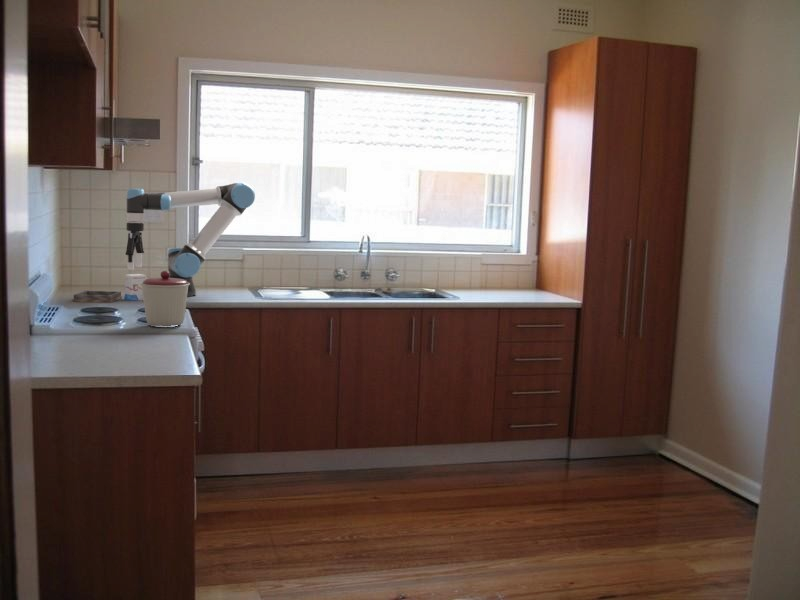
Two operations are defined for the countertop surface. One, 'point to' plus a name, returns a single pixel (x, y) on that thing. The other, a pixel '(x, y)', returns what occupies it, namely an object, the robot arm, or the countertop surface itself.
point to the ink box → (134, 286)
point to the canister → (165, 300)
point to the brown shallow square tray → (97, 296)
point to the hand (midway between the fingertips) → (134, 268)
